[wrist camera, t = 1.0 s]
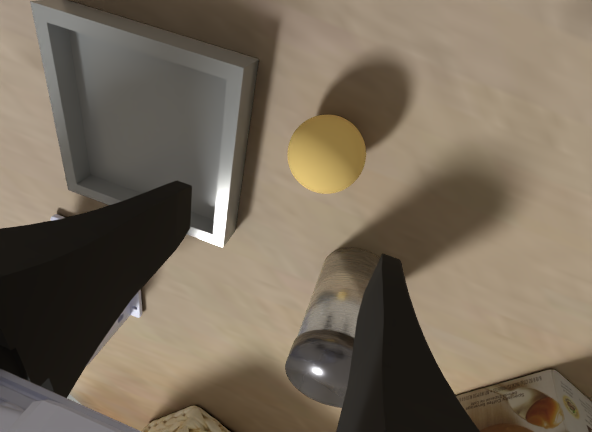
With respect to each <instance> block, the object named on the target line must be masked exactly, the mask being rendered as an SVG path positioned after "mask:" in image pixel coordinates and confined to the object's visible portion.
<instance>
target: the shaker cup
mask: <svg viewBox="0 0 592 432" xmlns="http://www.w3.org/2000/svg"><path fill="white" fill-rule="evenodd" d="M379 260H380V258H379V257H377V256H376V255H374V254H372V253H371V252H368V251H366V250H363V249H358V248H343V249H339V250H337V251H334V252H333V253H331V254H330V255H329V256H328V257H327V258H326V260H325V262H324V264H323V267H322V270H321V273H320V275H319V278H318V281H317V284H316V286H315V289H314V292H313V295H312V298H311V300H310V303H309V306H308V309H307V311H306V314H305V317H304V320H303V323H302V325H301V328H300V331H299V334H298V336H297V338H296V339H295V341H294V343H293V345H292V348H291V350H290V353H289V356H288V359H287V361H286V365H285V370H286V374H287V376H288V378H289V380H290V381H291V383H292V384H293V385H294V386H295V387H296V388H297V389H298V390H299V391H300V392H302V393H303V394H305V395H306V396H308V397H310V398H311V399H313V400H315V401H318V402H320V403H323V404H326V405H329V406H334V407H340V408H342V407H343V402H344V398H345V394H346V390H347V385H348V380H349V374H350V366H351V359H352V352H353V344H354V337H355V330H356V323H357V317H358V313H359V309H360V305H361V302H362V298H363V294H364V291H365V289H366V287H367V285H368V283H369V281H370V279H371V277H372V274H373V272H374V270H375V268H376V266H377V264H378V262H379Z"/></svg>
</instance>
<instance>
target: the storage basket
mask: <svg viewBox="0 0 592 432" xmlns="http://www.w3.org/2000/svg"><path fill="white" fill-rule="evenodd" d="M142 432H232V431H229V430H228V429H226V428H225V427H224V426H223V425H221V424H220V423H219V421H218V420H216V419H215V418H213V417H211V416H210V415H209V414H208V413H207V412H205V411H204V410H203V409H201V408H200V407H197V406H190V407H187V408H185V409H183V410H180V411H177V412H176V413H172V414H169V415H167V416H165V417H162V418H160V419H157V420H154V421H152V422H151V423H150V424H148V425H147V426H146V427H145V428H144V429H143V431H142Z"/></svg>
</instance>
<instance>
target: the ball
mask: <svg viewBox="0 0 592 432" xmlns="http://www.w3.org/2000/svg"><path fill="white" fill-rule="evenodd" d="M365 159H366V148H365V143H364V140H363V138H362V135H361V134H360V132H359V131H358V129H357V128H356V127H355V126H354V125H353V124H352V123H351V122H349V121H348V120H346V119H344V118H342V117H339V116H336V115H319V116H315V117H313V118H310V119H308V120H307V121H305V122H304V123H302V124H301V125H300V126H299V127H298V128H297V129H296V131H295V132H294V134H293V135H292V137H291V140H290V143H289V146H288V163H289V167H290V169H291V172H292V174H293V175H294V177H295V178H296V180H297V181H298V182H299V183H300V184H301V185H303V186H304V187H305V188H307V189H309V190H311V191H314V192H317V193H322V194H330V193H336V192H339V191H342V190H344V189H346V188H347V187H349V186H350V185H351V184H353V183H354V182H355V181H356V179H357V178H358V177H359V175H360V174H361V172H362V170H363V167H364V164H365Z"/></svg>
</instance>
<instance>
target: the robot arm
mask: <svg viewBox="0 0 592 432" xmlns="http://www.w3.org/2000/svg"><path fill="white" fill-rule="evenodd" d="M191 199H192V186H191V185H189V184H186V183H183V182H180V181H174V182H171V183H168V184H165V185H163V186H160V187H158V188H155V189H153V190H150V191H148V192H145V193H142V194H140V195H137V196H135V197H132V198H129V199H127V200H124V201H121V202H118V203H115V204H112V205H109V206H106V207H103V208H100V209H97V210H94V211H90V212H87V213H83V214H79V215H75V216H71V217H67V218H65V217H63V216H60V215H57V214H55V215H53V216H52V217H51V221H47V222H42V223H37V224H31V225H25V226H18V227H10V228H2V229H0V432H141V431H139V430H137V429H134V428H132V427H130V426H128V425H125V424H123V423H121V422H119V421H116V420H114V419H112V418H110V417H107V416H105V415H103V414H101V413H99V412H96V411H94V410H92V409H90V408H87V407H85V406H83V405H81V404H78V403H76V402H74V401H71V400H69V399H67V396H68V395H69V393H70V392H71V390H72V388H73V387H74V385H75V383H76V382H77V380H78V378H79V377H80V375H81V373H82V372H83V370H84V368H85V367H86V366H87V365H88V364H89V363H90V362H91V361H92V360H93V359H94V357H95V356H96V355H97V354H98V353H99V351H100V350H101V349H102V348H103V347H104V346H105V344H106V343H107V342H108V341H109V340H110V338H111V337H112V336H113V335H114V334H115V333H116V331H117V330H118V329H119V328H120V327H121V325H122V324H123V323H124V322H125V321H126V320H127V318H128V317H129V316H130V315H132V316H134V317H137V318H138V317H141V315H142V300H141V288H142V287H143V286H144V285H145V284H146V283H147V281H148V280H149V279H150V278H151V277H152V276H153V275H154V274H155V273H156V271H157V270H158V269H159V268H160V267H161V266H162V265H163V264H164V263H165V261H166V260H167V259H168V258H169V257H170V256H171V255H172V254H173V252H174V251H175V250H176V249H177V247H178V246H179V245H180V243H181V242H182V240H183V239H184V237H185V236H186V234H187V233H188V231H189V229H190V224H191ZM336 432H480V431H479V429H478V428H477V427H476V425H475V424H474V422H473V421H472V420H471V418H470V417H469V415H468V414H467V412H466V411H465V409H464V408H463V407H462V405H461V404H460V402H459V400H458V399H457V397H456V396H455V394H454V392H453V391H452V389H451V387H450V386H449V384H448V382H447V381H446V379H445V378H444V376H443V374H442V372H441V370H440V368H439V367H438V365H437V363H436V361H435V359H434V357H433V355H432V353H431V351H430V349H429V346H428V344H427V342H426V340H425V337H424V335H423V332H422V330H421V327H420V325H419V322H418V320H417V317H416V314H415V311H414V308H413V305H412V302H411V299H410V296H409V292H408V289H407V285H406V281H405V277H404V273H403V269H402V264H401V261H400V260H399V259H396V258H394V257H391V256H388V255H385V254H382V255H381V257H380V260H379V262H378V264H377V266H376V268H375V270H374V272H373V274H372V277H371V279H370V281H369V283H368V285H367V287H366V289H365V291H364V294H363V298H362V302H361V305H360V309H359V313H358V317H357V323H356V330H355V337H354V344H353V352H352V359H351V366H350V374H349V380H348V385H347V390H346V394H345V398H344V402H343V407H342V411H341V415H340V419H339V423H338V427H337V431H336Z"/></svg>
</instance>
